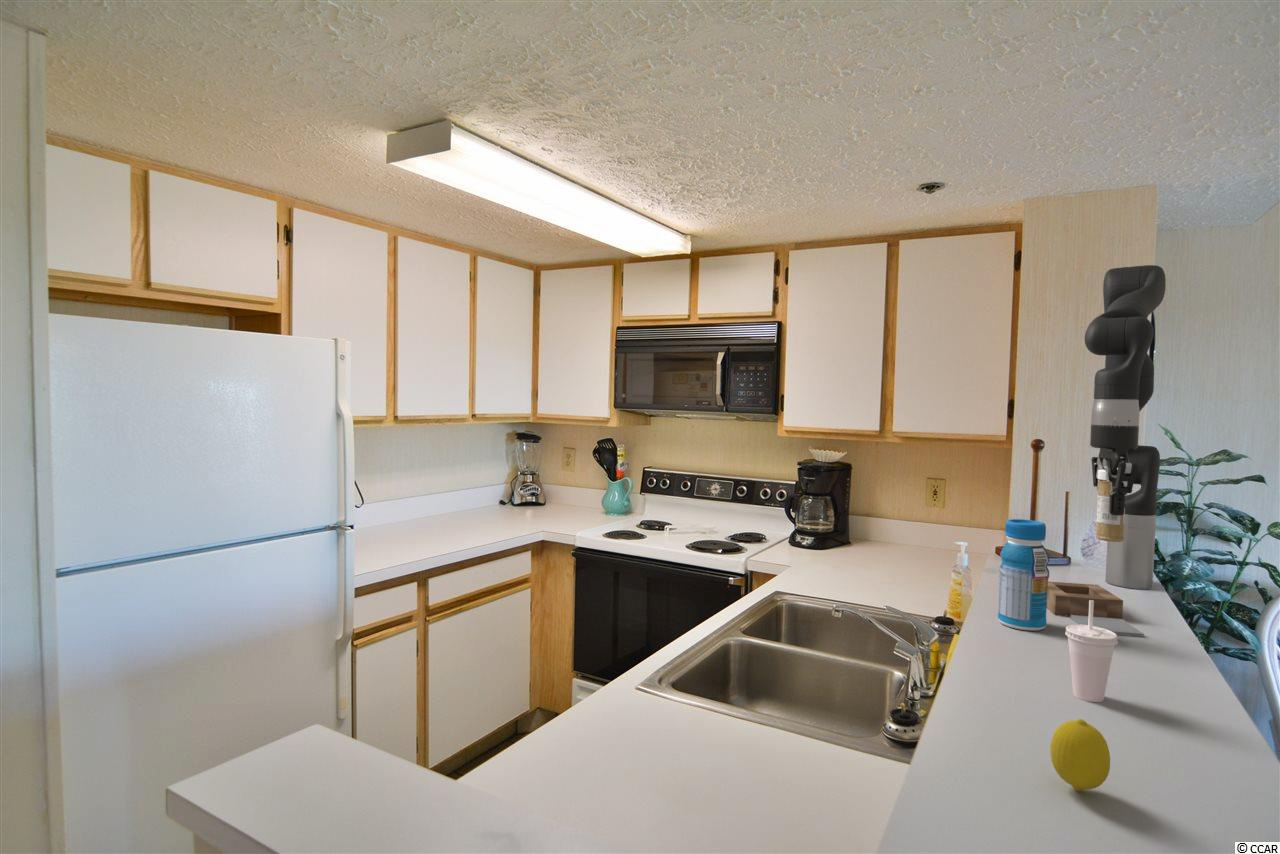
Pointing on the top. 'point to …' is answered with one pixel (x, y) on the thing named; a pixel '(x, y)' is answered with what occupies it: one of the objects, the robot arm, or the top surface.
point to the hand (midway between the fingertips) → (1110, 512)
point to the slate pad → (1110, 625)
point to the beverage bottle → (1024, 576)
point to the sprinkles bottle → (1107, 513)
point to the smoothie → (1090, 658)
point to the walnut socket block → (1082, 600)
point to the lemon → (1080, 755)
